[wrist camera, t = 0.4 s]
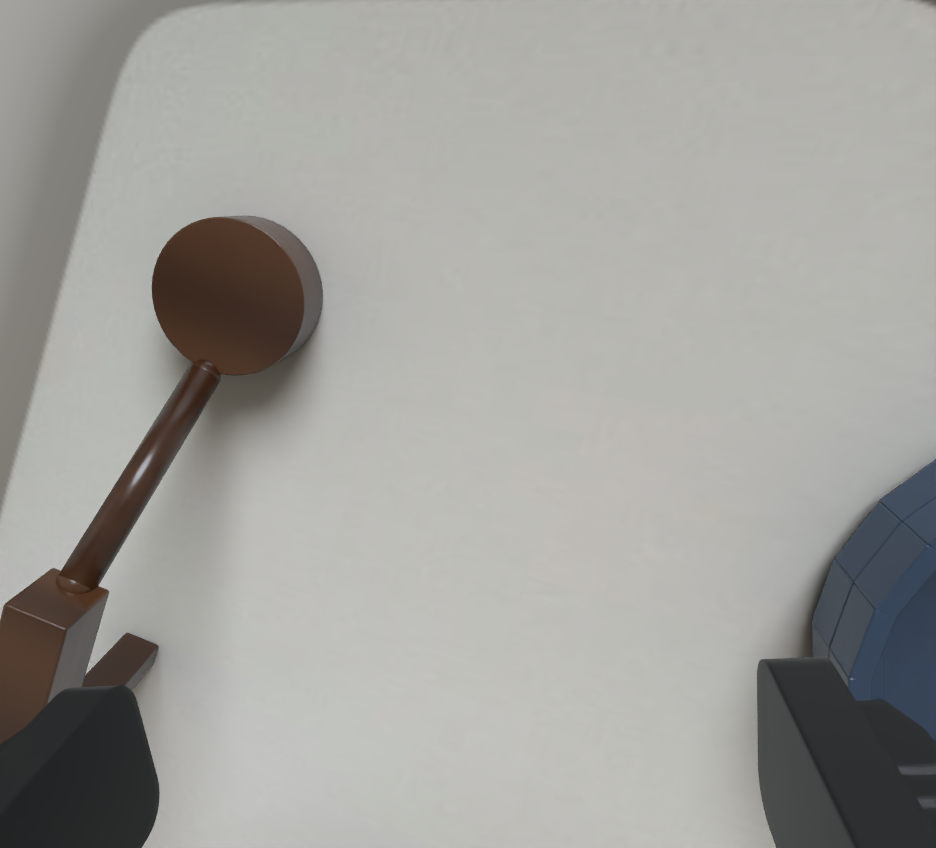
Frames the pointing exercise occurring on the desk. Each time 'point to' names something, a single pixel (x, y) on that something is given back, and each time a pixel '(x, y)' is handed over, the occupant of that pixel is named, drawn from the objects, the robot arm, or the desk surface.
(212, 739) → the desk surface
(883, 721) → the robot arm
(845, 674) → the bowl
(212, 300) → the brown disc on stem
